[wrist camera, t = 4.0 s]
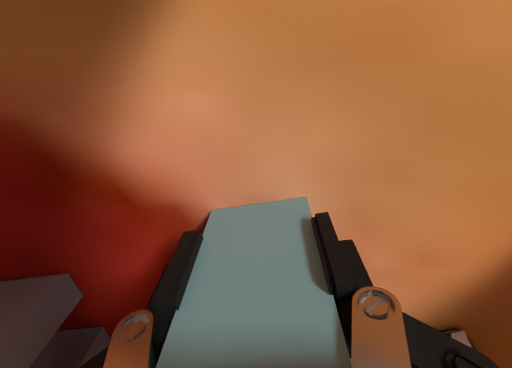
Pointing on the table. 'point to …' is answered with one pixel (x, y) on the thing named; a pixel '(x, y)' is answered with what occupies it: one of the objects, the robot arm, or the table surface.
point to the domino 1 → (33, 315)
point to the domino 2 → (72, 348)
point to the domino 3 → (257, 295)
